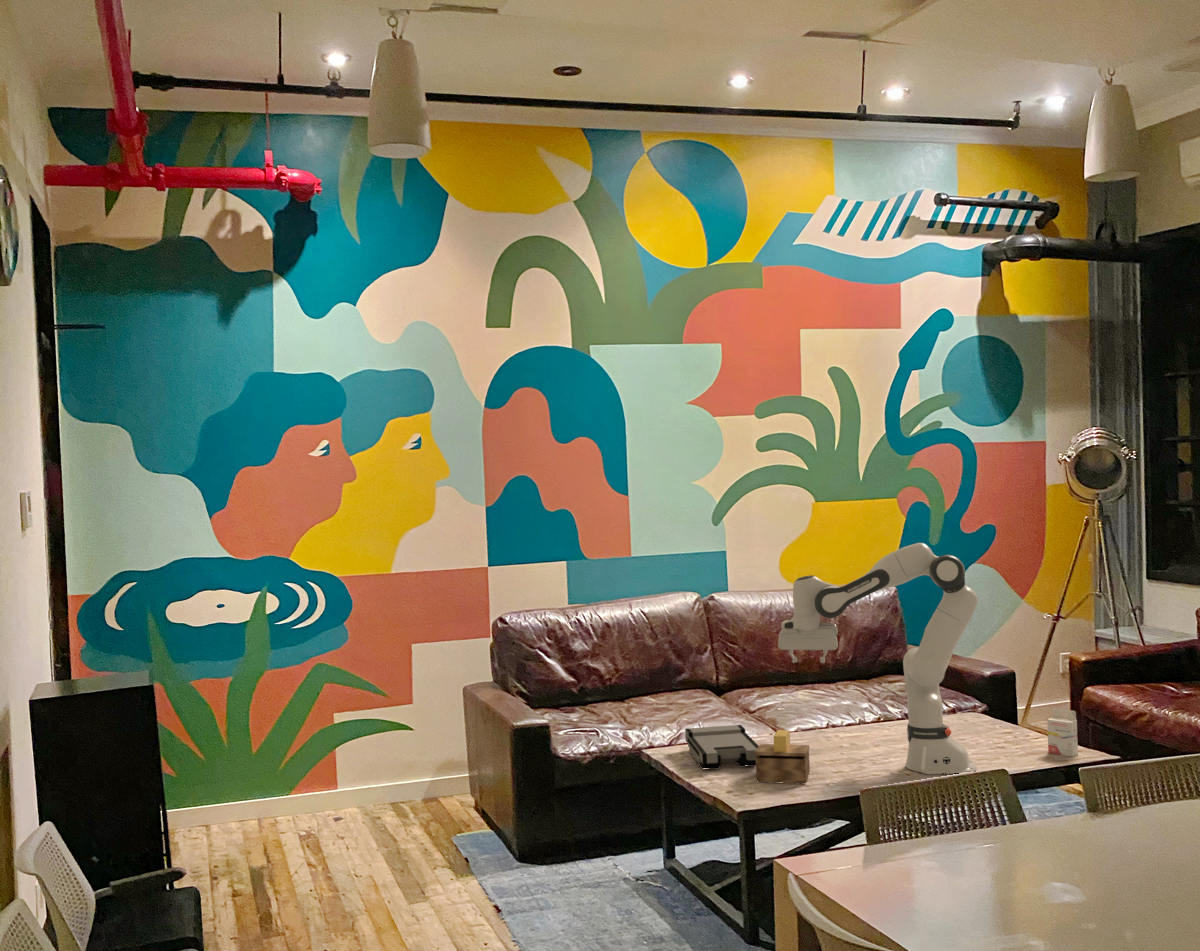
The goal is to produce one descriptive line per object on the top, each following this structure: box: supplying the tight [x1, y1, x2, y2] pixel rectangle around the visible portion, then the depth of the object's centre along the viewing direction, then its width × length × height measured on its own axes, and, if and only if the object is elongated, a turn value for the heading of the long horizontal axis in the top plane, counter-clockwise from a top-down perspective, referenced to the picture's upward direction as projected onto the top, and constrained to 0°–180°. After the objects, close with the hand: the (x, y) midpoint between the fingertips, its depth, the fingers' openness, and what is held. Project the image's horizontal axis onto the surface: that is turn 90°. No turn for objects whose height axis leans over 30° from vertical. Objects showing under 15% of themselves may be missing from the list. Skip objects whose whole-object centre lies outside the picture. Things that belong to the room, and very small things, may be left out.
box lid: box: [754, 743, 810, 756], centre depth 366 cm, size 16×14×1 cm
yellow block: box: [773, 729, 791, 752], centre depth 366 cm, size 4×12×5 cm, turn 165°
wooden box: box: [755, 749, 811, 784], centre depth 366 cm, size 16×14×8 cm
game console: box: [684, 724, 759, 769], centre depth 391 cm, size 21×32×8 cm, turn 6°
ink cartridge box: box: [1047, 707, 1079, 757], centre depth 379 cm, size 9×5×15 cm, turn 47°
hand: (808, 662), depth 384 cm, fingers open, 8 cm apart
